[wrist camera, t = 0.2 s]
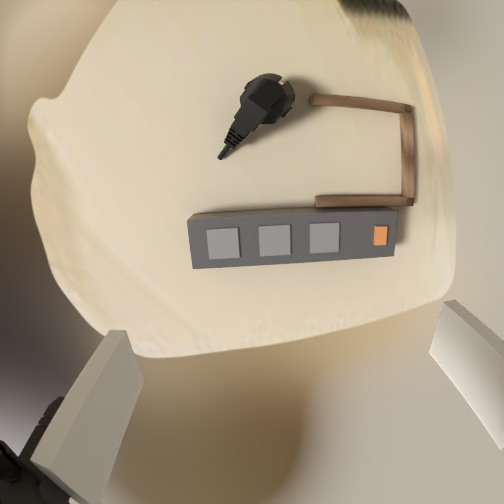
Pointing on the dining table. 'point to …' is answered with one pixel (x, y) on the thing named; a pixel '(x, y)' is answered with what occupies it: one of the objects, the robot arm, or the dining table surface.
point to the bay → (406, 149)
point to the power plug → (259, 107)
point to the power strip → (291, 235)
